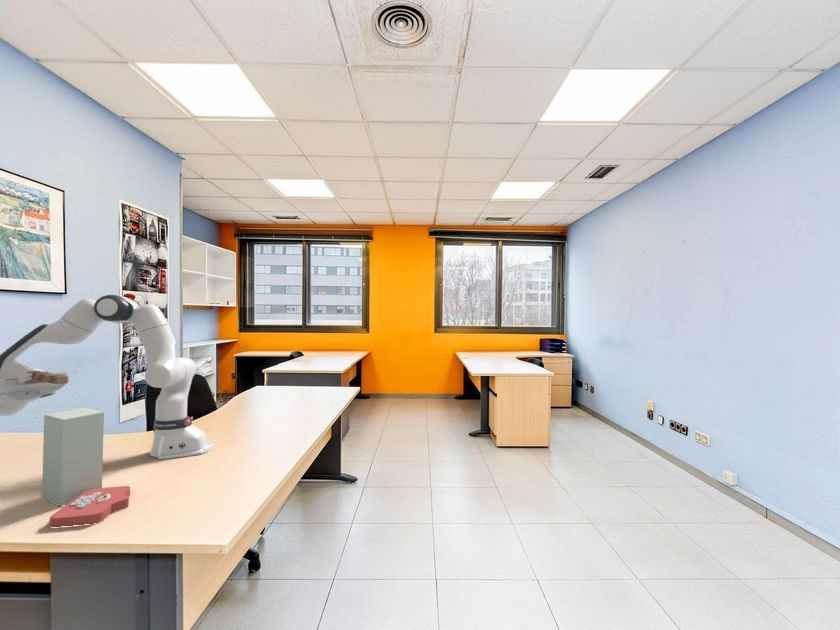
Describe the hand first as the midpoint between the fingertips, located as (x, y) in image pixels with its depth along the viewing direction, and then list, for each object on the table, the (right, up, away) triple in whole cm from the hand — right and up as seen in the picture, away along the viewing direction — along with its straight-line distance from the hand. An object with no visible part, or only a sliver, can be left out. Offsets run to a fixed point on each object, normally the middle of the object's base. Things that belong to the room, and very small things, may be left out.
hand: (38, 374), depth 127 cm
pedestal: (+22, -37, -10) cm, 44 cm away
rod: (+5, -2, -2) cm, 6 cm away
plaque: (+37, -38, -18) cm, 56 cm away
